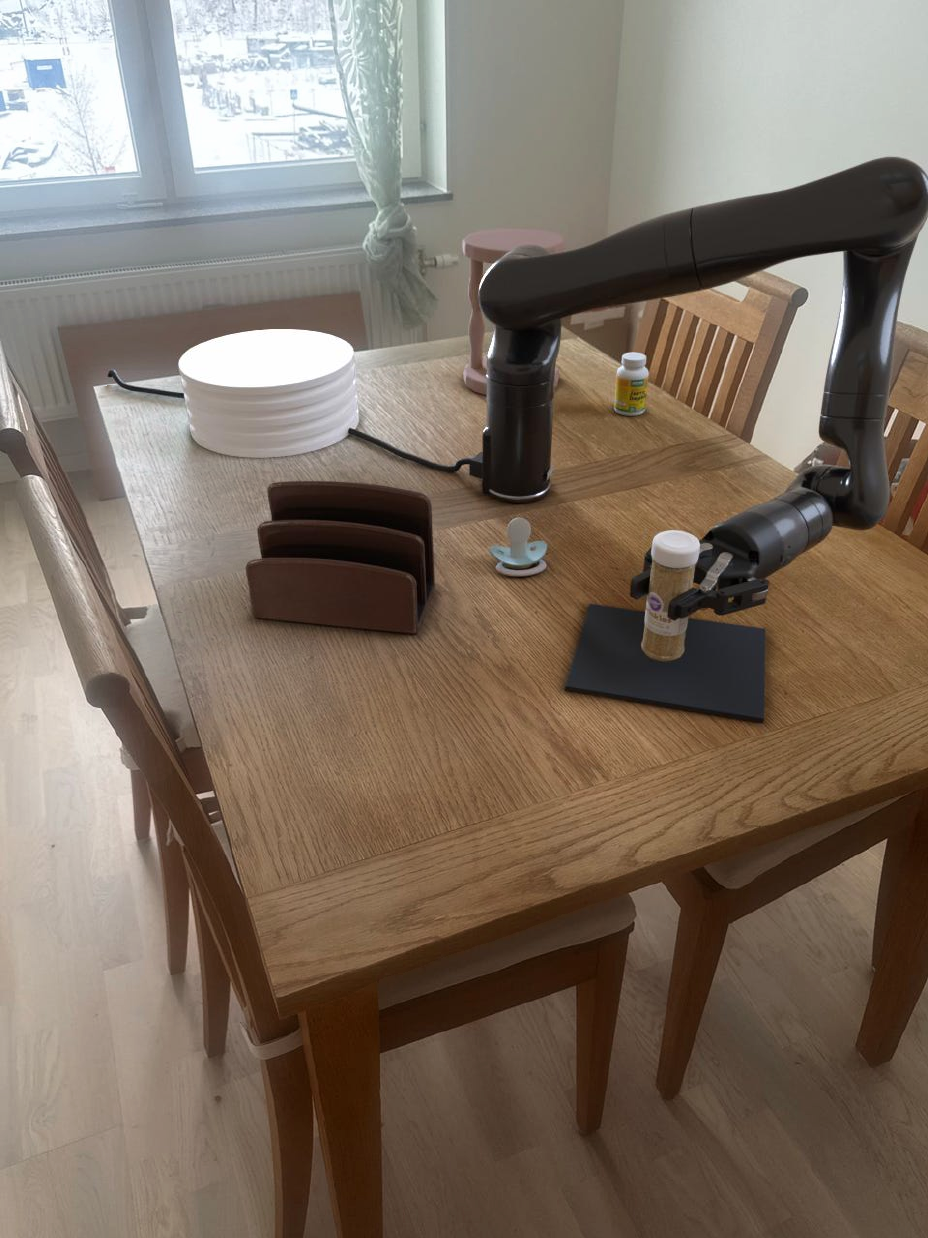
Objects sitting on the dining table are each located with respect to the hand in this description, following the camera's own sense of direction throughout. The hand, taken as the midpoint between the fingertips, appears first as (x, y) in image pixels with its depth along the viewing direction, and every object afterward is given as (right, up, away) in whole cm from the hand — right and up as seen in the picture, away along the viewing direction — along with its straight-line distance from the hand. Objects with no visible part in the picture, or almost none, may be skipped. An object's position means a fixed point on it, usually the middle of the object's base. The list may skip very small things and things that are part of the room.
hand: (652, 600), depth 91 cm
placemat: (+3, -6, +8) cm, 11 cm away
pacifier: (-12, +5, +25) cm, 28 cm away
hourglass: (-10, +42, +79) cm, 90 cm away
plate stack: (-51, +31, +64) cm, 87 cm away
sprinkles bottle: (+2, -5, +6) cm, 8 cm away
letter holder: (-33, 0, +18) cm, 38 cm away
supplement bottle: (+10, +34, +67) cm, 76 cm away
